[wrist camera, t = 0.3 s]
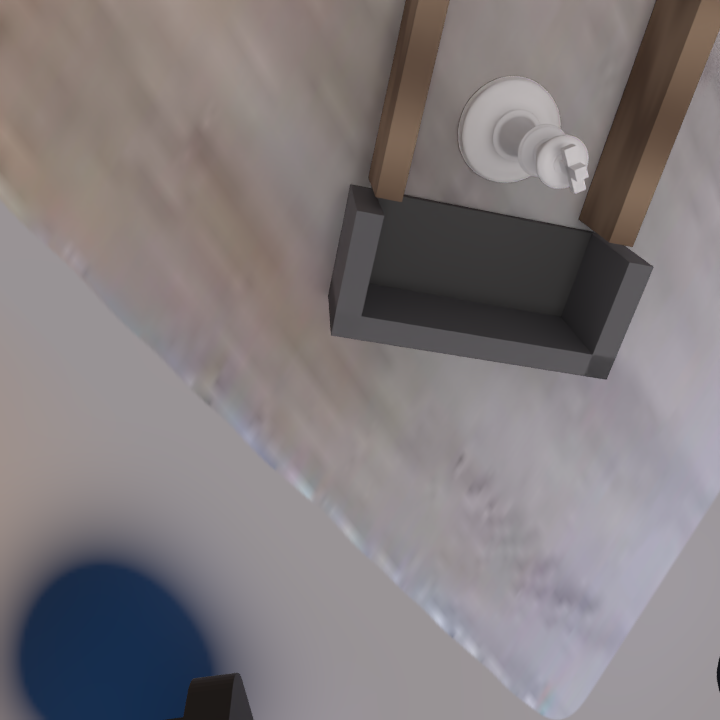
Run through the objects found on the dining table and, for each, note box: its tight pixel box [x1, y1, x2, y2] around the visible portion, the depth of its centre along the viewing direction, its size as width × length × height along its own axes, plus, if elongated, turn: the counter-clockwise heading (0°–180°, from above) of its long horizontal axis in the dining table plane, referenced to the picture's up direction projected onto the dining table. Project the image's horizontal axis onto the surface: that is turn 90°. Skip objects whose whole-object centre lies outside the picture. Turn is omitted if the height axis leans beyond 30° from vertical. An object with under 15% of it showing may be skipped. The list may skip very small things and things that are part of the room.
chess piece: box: [458, 76, 589, 194], centre depth 28 cm, size 5×5×10 cm
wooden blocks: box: [368, 0, 720, 247], centre depth 30 cm, size 11×12×4 cm
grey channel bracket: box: [328, 185, 653, 379], centre depth 34 cm, size 6×14×5 cm, turn 78°
